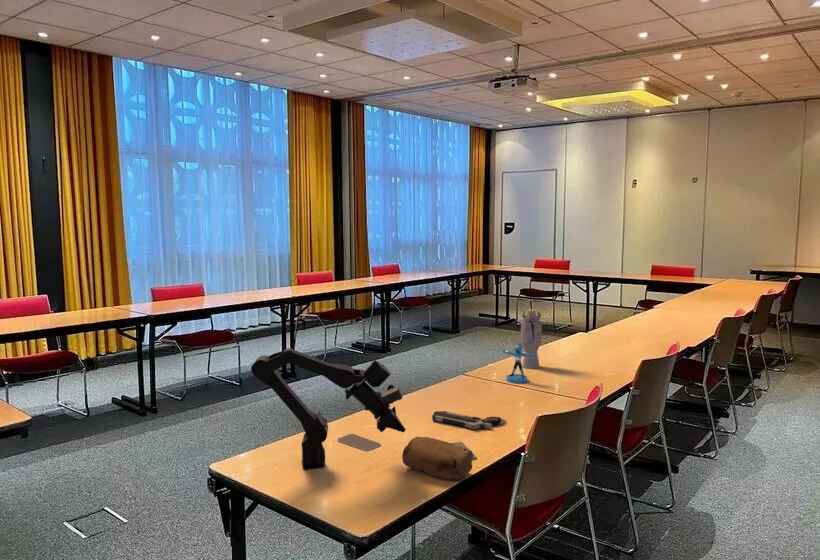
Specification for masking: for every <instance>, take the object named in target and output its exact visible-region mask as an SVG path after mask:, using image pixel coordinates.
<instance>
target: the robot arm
mask: <svg viewBox="0 0 820 560" xmlns="http://www.w3.org/2000/svg"><path fill="white" fill-rule="evenodd" d="M287 364H289V365H293V366H295V367H297V368H300V369H302V370H303V369H304V370H306V371H308V372H311V373H314V374H317V375H319V376H322V377H324V378H325V379H327V380H329V382H331V383H333V384H335V386H338V387H339V388H342V389H345V390H344V393H345V400H349V399H350V398H351V397H353V398H354V399H356V400H357V401H358V402H359V403H360V404H361V405H362V406H363V407H364V410H365V411H366V412H368V411H369V412H370V413H371V415H373V418H374V419H375V421H376V429H377V430H379V432H380V433H383V432H384V431H385V430H386V429H391V430H394V431H398V432H401V433H405V432H406V427H405V426H404V424H403V423H402V421H401V420H400V419H399V417H398V416H397V408H396V406H393V407H392V408H391V404H393V403H395V402H397V401H400V400H402V399H403V394H402V392H401V390H400V387H399V386H397V385H394V384H392V383H389V384H387V386H386V390H385V391H384V392H383V393H381V392H380V391H378V390H377V391H376V390H375V389H374V388H380V387H381V385H382V384H383V383H384V382H386V380H387V379H388V378H389V377H390V376H392V373H391V371H390V370H389V369H388V368H387V367H386V366H385V365H384V364H382V363H381V362H379V361H377V360H376V359H374V360H373V361H372V362H371V363H370V365H369V366H368V367H367V368H366V369H365V370H364V369H358V368H353V366H350V365H346V364H341V363H330V362H327V361H324V360H321V359H319V358H316V357H314V356H311V355H309V354H305V353H303V352H300V351H299V350H296V349H294V348H293V347H287V348H285V349H284V350H281V351H278V352H275V353H273V354H270V355H260V356H259V357H257V359H256V360H255V361H254V362H253V364H252V365H251V373H252V375H253V376H254V377H255V378H256V379H257V380H258V381H260V382H261V383H263V384H264V385H266V386H267V387H269V388H271V390H272V391H273V392H274V393H275V394H276V395H277V397H279V399H280V400H281V401H282V402H283V404H284V405H285V406H286V407H287V408H288V409H289V410H290V411H291V412H292V414H293V415H294V417H296V418H297V420H299V422H300V424H301V426H302V429H303V431H304V434H303V438H302V441H301V446H300V447H301V465H302V470H310V469H317V468H319V469H320V468H325V463H326V450H325V447H324V446H323V443H324V442H325V441H326V440H327V438H328V433H329V425H328V419H327V418H325V417H324V416H323V415H322V413H321V412H320V411H317V413H314V412H313V411H312V410H310V409H309V408H308V406H307V405H306V404H305V403H304V401H303V400H302V399H301V398H300V397H299V396H298V394H296V392H295V391H294V390H293V389H292V388H291V387H290V385H289V384H288V383H287V382H286V381H285V379H284V378H283V377H282V375H281V373H280V370H279V369H280V368H282V367H284V366H286V365H287Z"/></svg>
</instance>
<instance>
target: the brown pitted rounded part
mask: <svg viewBox="0 0 820 560" xmlns="http://www.w3.org/2000/svg"><path fill="white" fill-rule="evenodd" d="M452 443H453V442H448V441H444V440H442V439H441V440H440V439H436V438H432V437H428V436H416V437H415V436H414V437H413V438H412V439H410V441H409V442H408V444H407V445H406V446H404V448H403V450H402V456H401V458H402V459H401V460H402V463H403V465H404V466H406V467H408V468H410V469H414V470H416V471H423V472H424V473H426V474H428V475H430V476H433V477H435V478H439V479H443V480H448V481H452V480H453V481H455V480H462V479H464V478H465V477H466V476H467V475H468V474H470V472H471V470H472V469H473V461H474V459H473V454H474V452H473V451H472V450H471V449H470V448H468V449H466V448H464V447H461V446H458V445H455V444H452Z"/></svg>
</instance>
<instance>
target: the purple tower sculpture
mask: <svg viewBox="0 0 820 560" xmlns="http://www.w3.org/2000/svg"><path fill="white" fill-rule="evenodd" d="M525 314H526V315H525ZM521 316H522V318H523V320H521V321H520V322H521V323H520V342H521V345H523V347H522V348H523V349H524V353H526V354H531V355H533V354H534V355H536V356H535V357H523V360H522V363H521V364H522V367H523V368H522V369H525V370H535V369H539V368H540V360H539V354H538V352H539V351H538V350H539V348H540V346H541V343H542V331H543V330H542V328H543V327H542V325H543V324H542V321H540V320H541V317H542V314H541V312H540V311H537V312H536V309H527V311H526V312H525V311H523V312H522V314H521ZM534 368H535V369H534Z"/></svg>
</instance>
